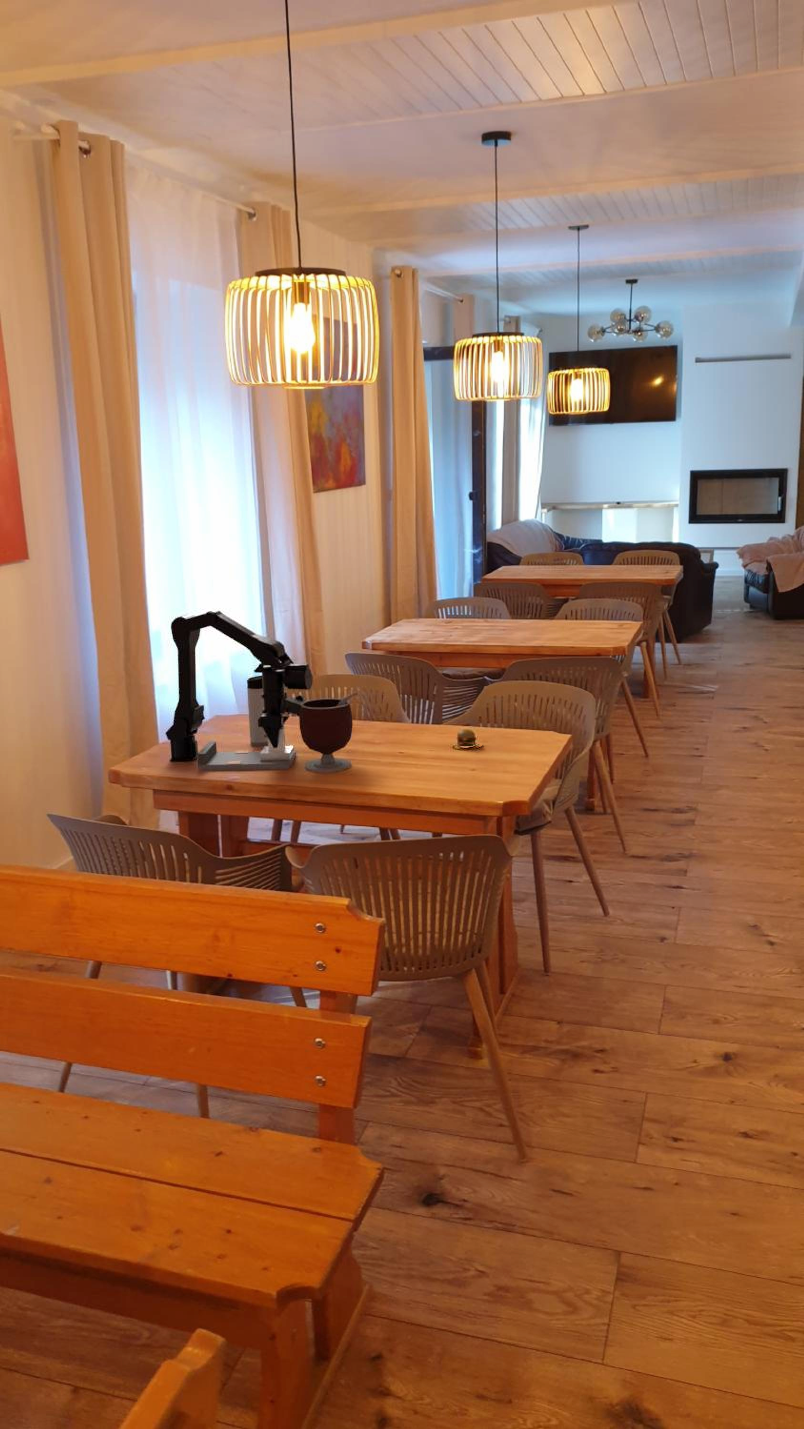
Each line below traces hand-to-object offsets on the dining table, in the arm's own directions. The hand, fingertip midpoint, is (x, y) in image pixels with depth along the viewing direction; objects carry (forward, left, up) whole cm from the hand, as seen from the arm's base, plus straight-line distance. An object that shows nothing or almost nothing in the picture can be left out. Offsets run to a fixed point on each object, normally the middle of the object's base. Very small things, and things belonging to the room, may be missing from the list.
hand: (276, 745), depth 306 cm
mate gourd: (+15, -5, -5) cm, 17 cm away
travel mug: (-8, +22, -5) cm, 24 cm away
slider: (0, 0, -3) cm, 3 cm away
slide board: (-8, 0, -5) cm, 9 cm away
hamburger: (+51, +14, -6) cm, 53 cm away
